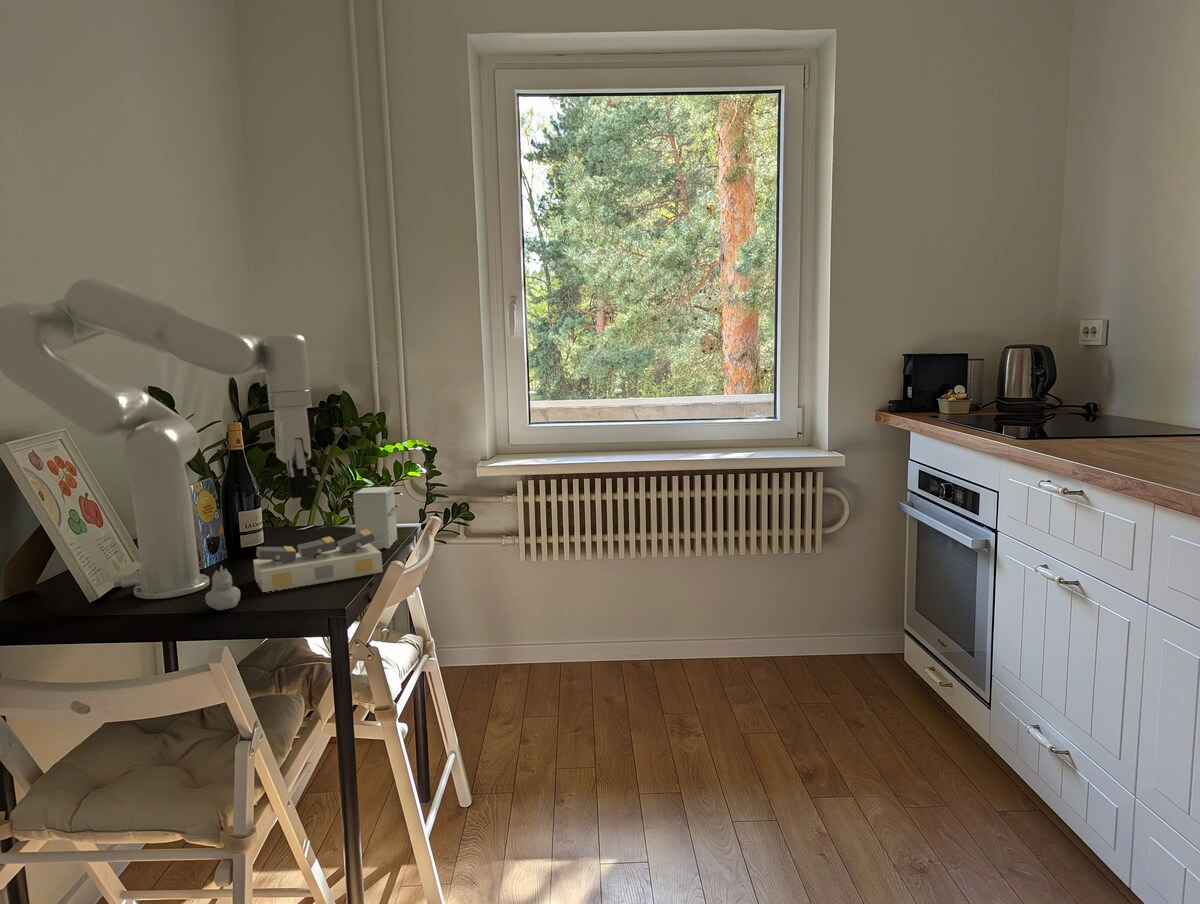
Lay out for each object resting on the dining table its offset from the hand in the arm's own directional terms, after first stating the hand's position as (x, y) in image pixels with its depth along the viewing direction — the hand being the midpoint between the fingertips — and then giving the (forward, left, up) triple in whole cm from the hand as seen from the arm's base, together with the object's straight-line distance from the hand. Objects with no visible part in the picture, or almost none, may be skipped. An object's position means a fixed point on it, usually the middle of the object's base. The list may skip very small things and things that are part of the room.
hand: (299, 496), depth 154 cm
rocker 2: (+2, 0, -11) cm, 11 cm away
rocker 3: (+10, 0, -11) cm, 15 cm away
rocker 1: (-5, 0, -11) cm, 12 cm away
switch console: (+2, 0, -16) cm, 16 cm away
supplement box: (+18, +17, -16) cm, 30 cm away
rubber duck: (-16, -10, -16) cm, 25 cm away
